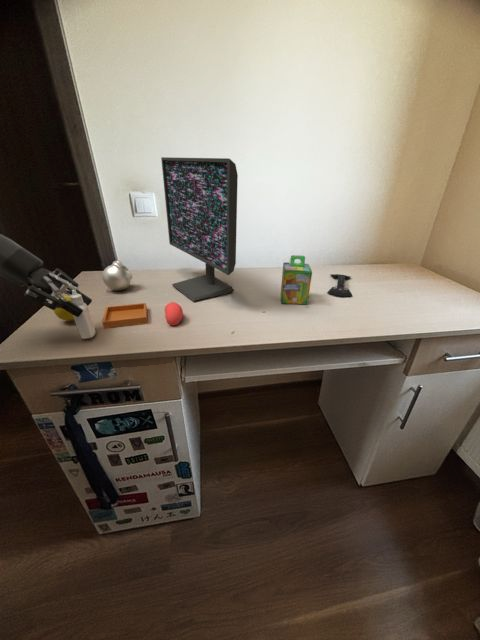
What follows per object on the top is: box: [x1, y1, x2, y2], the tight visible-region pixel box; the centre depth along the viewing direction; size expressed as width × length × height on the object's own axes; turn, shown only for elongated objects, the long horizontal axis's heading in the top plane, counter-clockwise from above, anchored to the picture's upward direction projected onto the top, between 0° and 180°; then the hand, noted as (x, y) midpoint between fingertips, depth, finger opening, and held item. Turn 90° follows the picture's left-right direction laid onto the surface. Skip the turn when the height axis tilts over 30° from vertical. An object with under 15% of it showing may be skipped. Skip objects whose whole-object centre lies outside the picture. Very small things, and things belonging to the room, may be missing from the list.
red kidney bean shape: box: [164, 301, 184, 326], centre depth 82 cm, size 5×9×6 cm
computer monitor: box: [160, 156, 239, 302], centre depth 92 cm, size 44×16×40 cm, turn 37°
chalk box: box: [280, 254, 313, 306], centre depth 95 cm, size 9×9×15 cm
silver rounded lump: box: [101, 259, 133, 292], centre depth 98 cm, size 9×10×10 cm
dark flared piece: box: [327, 273, 353, 298], centre depth 111 cm, size 9×25×3 cm, turn 166°
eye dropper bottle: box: [69, 290, 96, 340], centre depth 70 cm, size 4×6×12 cm
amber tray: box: [101, 302, 148, 329], centre depth 82 cm, size 11×10×2 cm
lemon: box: [53, 294, 75, 322], centre depth 78 cm, size 6×6×8 cm
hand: (85, 308), depth 70 cm, fingers closed on eye dropper bottle, 5 cm apart
